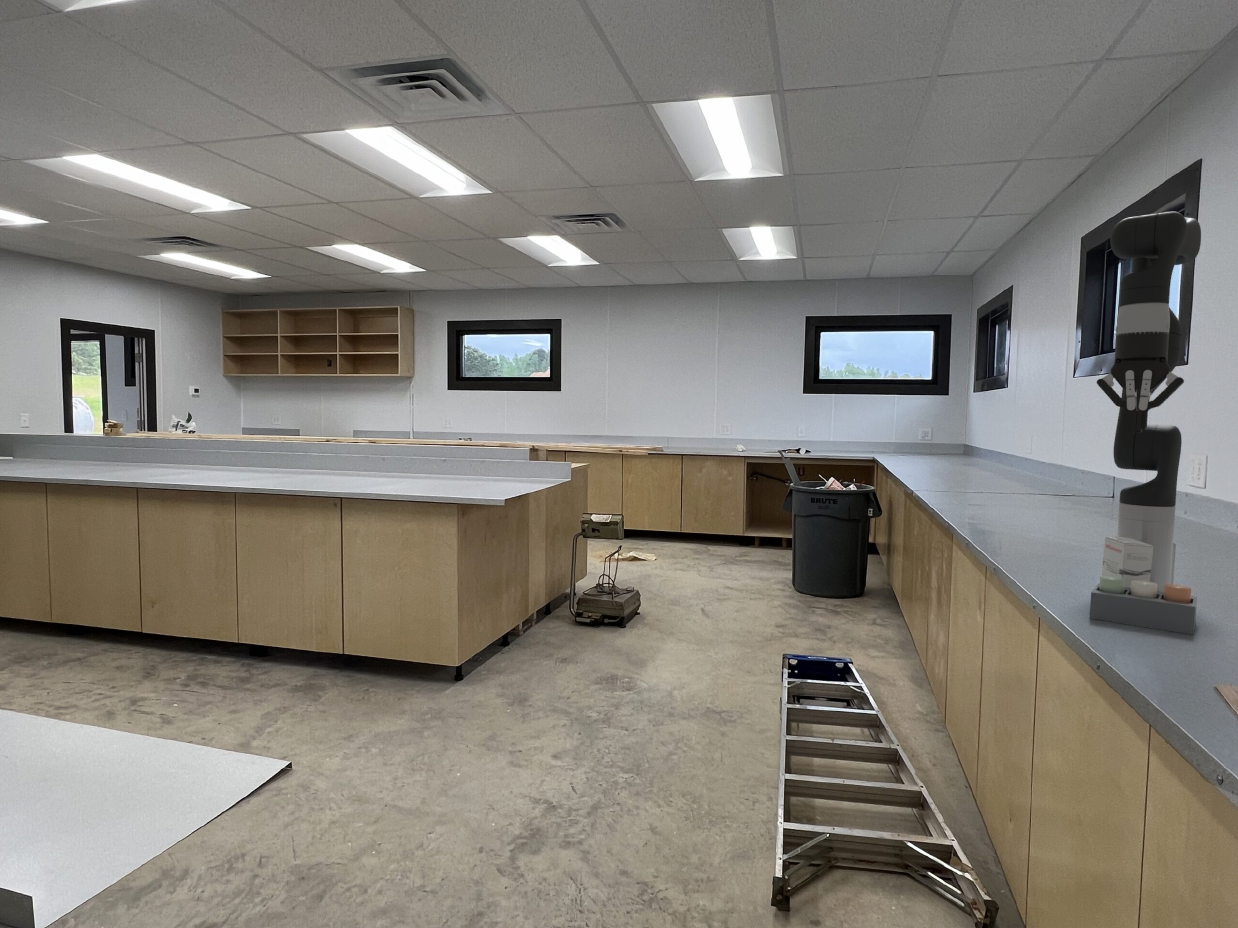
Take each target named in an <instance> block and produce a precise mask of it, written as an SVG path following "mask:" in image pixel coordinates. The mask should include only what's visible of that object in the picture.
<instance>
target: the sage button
mask: <svg viewBox="0 0 1238 928" xmlns="http://www.w3.org/2000/svg"><path fill="white" fill-rule="evenodd" d="M1099 584H1100V585H1099V591H1105V592H1112V593H1119V594H1124V588H1125V579H1122V578H1117V577H1109V576H1102V575H1101V576H1100V577H1099Z"/></svg>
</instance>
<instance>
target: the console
mask: <svg viewBox="0 0 1238 928" xmlns="http://www.w3.org/2000/svg"><path fill="white" fill-rule="evenodd" d="M1099 585H1100V583H1098V584H1096V586H1094V588H1093V589H1092V591H1091V592H1090V607H1089V608H1090V609H1089V619H1091V620H1098V621H1106V622H1110V621H1111V623H1117V624H1123V625H1131V626H1135V627H1136V626H1137V627H1142V628H1149V629H1156V630H1162V631H1168V632H1175V633H1181V634H1187V635H1194V632H1195V627H1196V621H1197V620H1196V618H1197V617H1196V616H1197V603H1198V601H1197V600H1198V597H1197V596H1195V595H1191V602H1190V603H1185V602H1177V601H1170V600H1163V594H1164V592H1158V591H1157V598H1148V597H1141V596H1134V595H1130V594H1131V588H1127V587H1125V588H1124V594H1119V593H1112V592H1105V591H1099Z"/></svg>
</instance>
